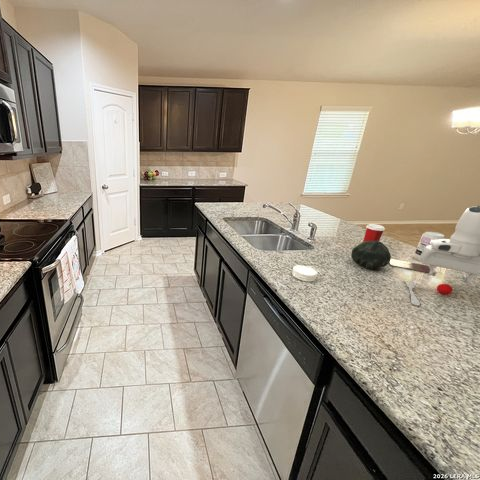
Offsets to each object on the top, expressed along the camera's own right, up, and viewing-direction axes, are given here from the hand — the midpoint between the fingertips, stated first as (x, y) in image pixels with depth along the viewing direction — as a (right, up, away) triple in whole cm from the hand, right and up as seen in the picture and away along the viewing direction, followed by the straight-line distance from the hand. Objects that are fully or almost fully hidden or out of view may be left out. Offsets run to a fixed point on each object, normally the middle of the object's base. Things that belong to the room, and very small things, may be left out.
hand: (447, 278), depth 103 cm
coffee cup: (+3, +10, +44) cm, 45 cm away
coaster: (-51, -1, +14) cm, 53 cm away
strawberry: (0, -5, +1) cm, 5 cm away
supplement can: (+24, +5, +32) cm, 40 cm away
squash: (-12, +2, +25) cm, 28 cm away
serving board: (+9, +3, +25) cm, 27 cm away
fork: (-13, -7, +2) cm, 15 cm away
